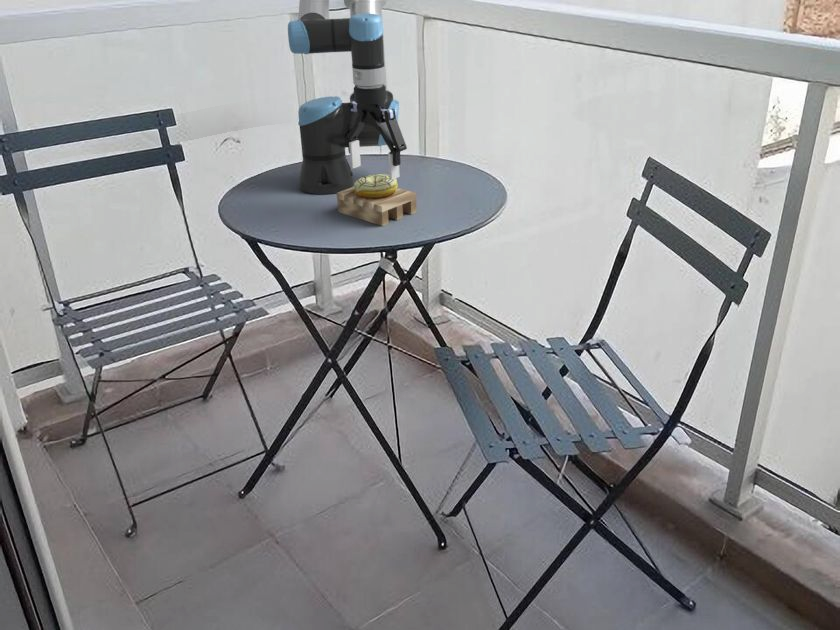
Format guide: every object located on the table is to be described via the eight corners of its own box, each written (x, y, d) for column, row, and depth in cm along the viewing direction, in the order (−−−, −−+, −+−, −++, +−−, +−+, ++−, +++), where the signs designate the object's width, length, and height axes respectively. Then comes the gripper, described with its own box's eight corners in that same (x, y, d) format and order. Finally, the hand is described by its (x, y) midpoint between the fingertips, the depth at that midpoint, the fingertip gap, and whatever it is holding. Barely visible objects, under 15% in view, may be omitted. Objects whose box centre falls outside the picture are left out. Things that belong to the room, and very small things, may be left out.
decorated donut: (356, 187, 207) (355, 172, 205) (398, 185, 207) (397, 171, 205) (353, 200, 198) (352, 185, 196) (397, 199, 198) (396, 184, 196)
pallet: (338, 211, 206) (336, 192, 203) (372, 199, 213) (371, 180, 211) (382, 226, 196) (381, 206, 194) (416, 212, 204) (416, 193, 201)
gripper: (322, 81, 195) (329, 166, 206) (396, 95, 180) (400, 187, 190) (345, 75, 200) (351, 158, 210) (419, 89, 185) (422, 178, 195)
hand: (374, 172), depth 200 cm, fingers open, 13 cm apart
